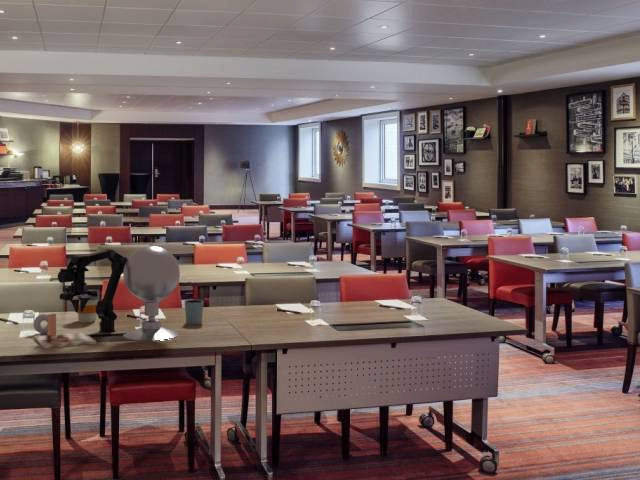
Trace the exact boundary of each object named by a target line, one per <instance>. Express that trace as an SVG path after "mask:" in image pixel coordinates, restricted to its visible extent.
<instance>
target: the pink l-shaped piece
mask: <svg viewBox="0 0 640 480" xmlns="http://www.w3.org/2000/svg"><path fill="white" fill-rule="evenodd" d="M47 314H48V333H47V335H51V339H52V340H55V341H58V342H59V341H64V340H69V338H68V337H64V336H63V338H61V339H58V338H57V335H58V334H57V314H56V313H47ZM47 335H45V336H46V338H47Z"/></svg>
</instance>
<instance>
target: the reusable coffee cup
mask: <svg viewBox="0 0 640 480" xmlns="http://www.w3.org/2000/svg"><path fill="white" fill-rule="evenodd" d="M89 298H90V299H89V300H88V302H87V304H86V305H85V308H84V310H83V312H81V311H80V299H79V297H77V299H79V306H78V312H77V313H76V314H77V318H78V319H77V320H78V322H79V323H83V324H85V323H86V322H90V323H94V322H93V321H95V322H96V321H97V317H98V315H97V313H96V308H95V307H96V306H97V302H98V301H100V293H99V292H98V296H96V297H92V296H91V295H89ZM86 324H87V323H86Z"/></svg>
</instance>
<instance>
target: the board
mask: <svg viewBox="0 0 640 480" xmlns="http://www.w3.org/2000/svg"><path fill="white" fill-rule="evenodd" d="M56 335H57V338H58V339H61V338H63V336H64V337H68V338H69V340H64V341H59V342H58V341H55V340H52V339H51V335H48V334H47V338H46V335H38V336H37V335H35V336H34V337H33V339H34V340H35V342H37V343H38V344H39V345H40V346H41V347H42V348H44V349H50V348H51V349H53V348H63V347H73V346H83V345H84V346H85V345H95V344H97V340H96V339H94V338H93V337H92V336H90V335H88V334H87V333H85V332H74V333H73V332H72V333H61V334H59V333H58V334H56ZM52 347H53V348H52Z"/></svg>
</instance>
